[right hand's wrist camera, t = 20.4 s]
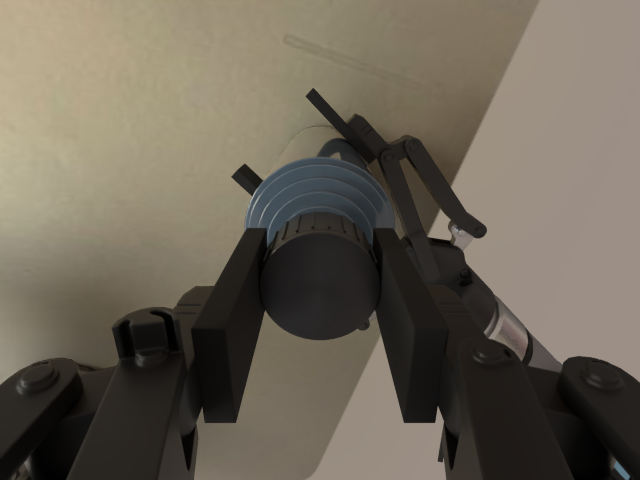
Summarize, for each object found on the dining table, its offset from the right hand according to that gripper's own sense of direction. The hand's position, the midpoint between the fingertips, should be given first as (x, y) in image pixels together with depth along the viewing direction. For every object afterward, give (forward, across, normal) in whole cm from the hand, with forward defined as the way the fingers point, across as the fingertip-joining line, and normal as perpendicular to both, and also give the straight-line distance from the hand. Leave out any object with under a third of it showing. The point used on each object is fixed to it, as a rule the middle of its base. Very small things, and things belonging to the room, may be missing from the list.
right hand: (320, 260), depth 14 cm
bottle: (+21, 0, 0) cm, 21 cm away
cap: (-2, 0, 0) cm, 2 cm away
